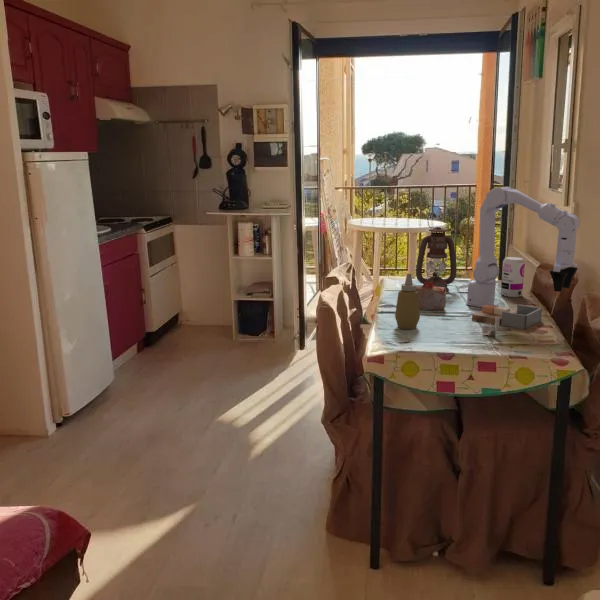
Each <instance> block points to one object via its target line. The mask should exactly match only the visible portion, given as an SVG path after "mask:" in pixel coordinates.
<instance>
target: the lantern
mask: <svg viewBox="0 0 600 600" xmlns="http://www.w3.org/2000/svg"><path fill="white" fill-rule="evenodd" d="M437 207H438V208H439V207H440V208H441V207H442V208H443V207H444V208H446V209H447V212H448V223H447V226H446V227H440V226H435V227H431V226H430V223H429V221H427V225H428V228H430V229H428V231H429V232H430V235H426V236H424V237H423V238H422V240H421V243H420V245H419V249H418V250H419V251H418V255H417V262H416V266H415V267H416V268H415V277H416V279H417V281H418V283H420V284H421V285H423V284H424V283H425V282H429V283H433V284H434V285H433V287H445V288H446V294H448V293H449V292H450V291H449V290H450V289H449V288H448V285H450V284H452V283H453V282H454V281H455V279H456V276H457V269H458V268H457V259H456V247H455V243H454V242H455V241H454V240H453V238H452V237H450V236H448V235H446V232H448V229H447V228H448V227H449V225H450V222H451V221H450V220H451V218H450V217H451V216H450V214H451V213H450V209H449V208H448V206H445V205H433V206H431V207H430V209H429V211H428V214H427V220H429V219H430V217H429V216H430V213H431V210H432V208H437ZM427 249H429V251H428V252H427V254H426V250H427ZM446 250H448V254H447V253H446V252H445V251H446ZM425 254H426V270H425V269H423V263H424V259H425ZM448 255H449V264H450V267H449V268H450V271H449V277H447V278H445V276H446V273H448V272H447V270H446V269H447V265H448V264H447V262H448ZM429 259H430V260H429ZM443 259H444V260H443ZM425 272H426V276H427V277H429V278H425V277H424V276H423V275H422V274H425ZM443 278H444V279H443ZM447 292H448V293H447Z"/></svg>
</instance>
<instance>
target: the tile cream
mask: <svg viewBox="0 0 600 600" xmlns="http://www.w3.org/2000/svg"><path fill="white" fill-rule="evenodd" d="M497 306H498V307H496V308H494V314H498V315H502V312H509V313H510V310H511V307H508V306H501V305H497Z"/></svg>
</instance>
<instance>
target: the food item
mask: <svg viewBox="0 0 600 600" xmlns="http://www.w3.org/2000/svg"><path fill="white" fill-rule="evenodd" d="M415 285H416V290H415V291H417V292H418V295H419V310H422V311H442V310H443V309H444V308H445V307H446V304H447V301H446V299H447V293H446V288H445V287H433V285H434V284H433V283H429V282H425V283H424V284H420V285H419V284H418V285H417V284H415Z"/></svg>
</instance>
